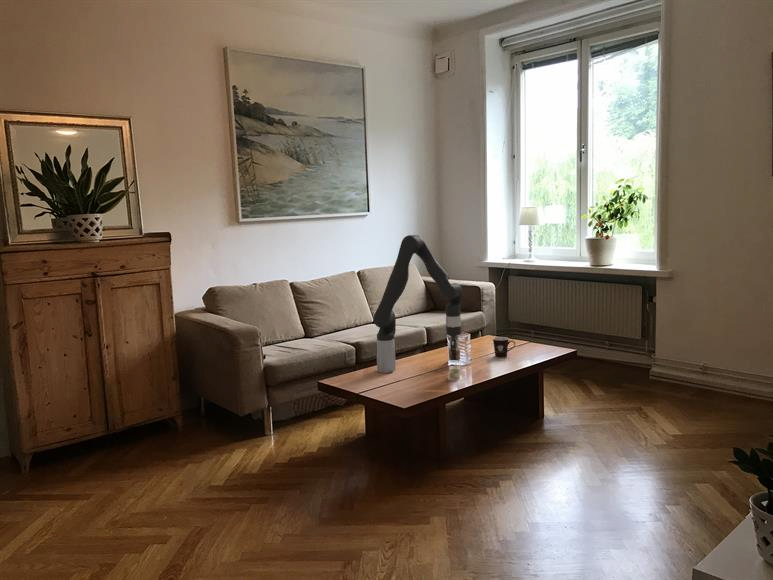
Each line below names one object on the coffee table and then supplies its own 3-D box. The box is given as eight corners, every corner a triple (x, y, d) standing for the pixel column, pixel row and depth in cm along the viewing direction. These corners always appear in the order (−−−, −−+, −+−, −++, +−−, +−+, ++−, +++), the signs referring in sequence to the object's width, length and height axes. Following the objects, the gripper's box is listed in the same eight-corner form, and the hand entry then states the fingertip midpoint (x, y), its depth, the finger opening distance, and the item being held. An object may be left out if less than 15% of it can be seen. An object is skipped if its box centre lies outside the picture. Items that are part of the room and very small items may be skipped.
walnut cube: (449, 360, 309) (448, 350, 308) (450, 357, 313) (449, 348, 313) (459, 360, 308) (459, 350, 307) (460, 357, 312) (459, 348, 312)
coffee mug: (490, 356, 353) (490, 339, 352) (498, 353, 360) (498, 336, 358) (508, 359, 346) (508, 341, 344) (516, 356, 352) (516, 338, 351)
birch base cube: (449, 378, 310) (449, 369, 309) (450, 376, 315) (450, 366, 314) (459, 379, 309) (459, 369, 308) (460, 376, 314) (460, 366, 313)
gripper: (447, 321, 316) (448, 355, 318) (444, 327, 302) (445, 362, 304) (462, 321, 314) (463, 355, 317) (460, 327, 300) (461, 362, 303)
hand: (454, 358), depth 310 cm, fingers closed on walnut cube, 5 cm apart
